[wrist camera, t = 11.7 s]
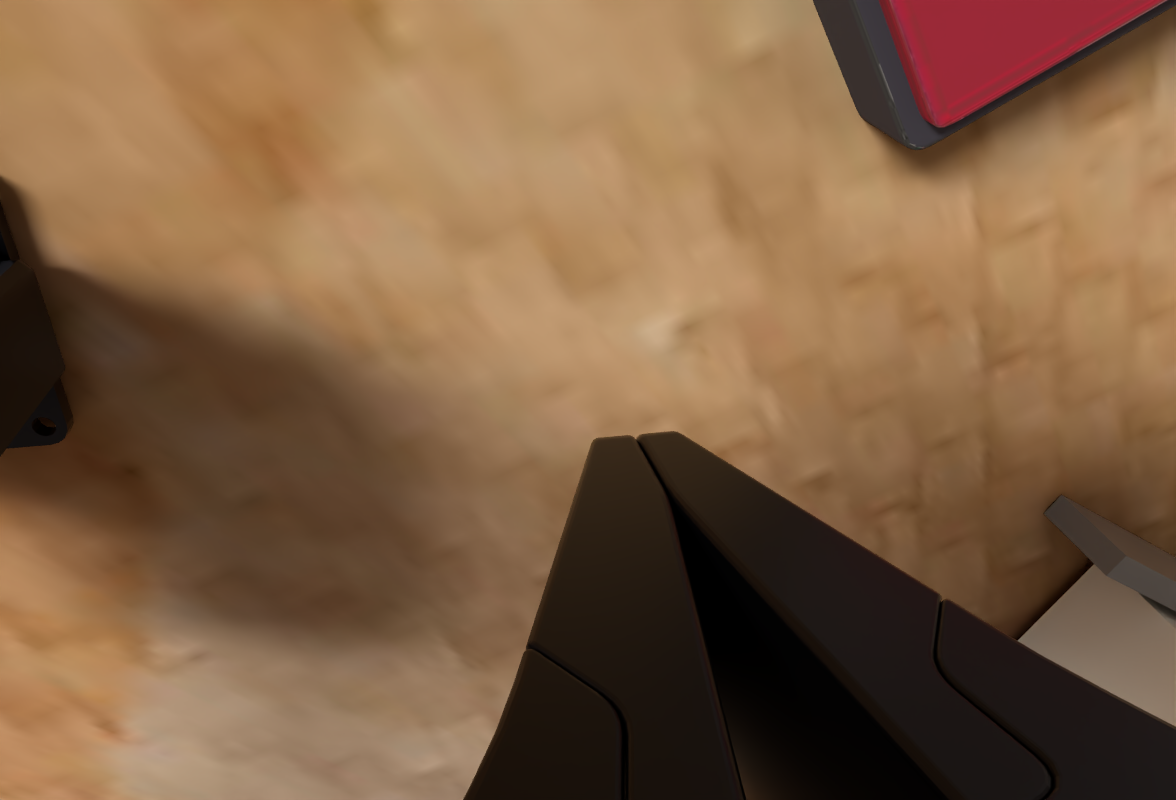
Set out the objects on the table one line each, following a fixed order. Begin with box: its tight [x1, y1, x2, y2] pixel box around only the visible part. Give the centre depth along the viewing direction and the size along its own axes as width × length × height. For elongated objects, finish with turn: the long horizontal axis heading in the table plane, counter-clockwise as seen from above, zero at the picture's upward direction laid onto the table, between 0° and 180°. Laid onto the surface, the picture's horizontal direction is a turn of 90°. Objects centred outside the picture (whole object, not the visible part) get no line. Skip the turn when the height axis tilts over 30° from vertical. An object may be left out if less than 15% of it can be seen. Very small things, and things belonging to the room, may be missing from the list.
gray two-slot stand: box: [1044, 495, 1176, 611], centre depth 31 cm, size 9×18×3 cm, turn 148°
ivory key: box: [1018, 564, 1176, 727], centre depth 27 cm, size 4×5×8 cm
